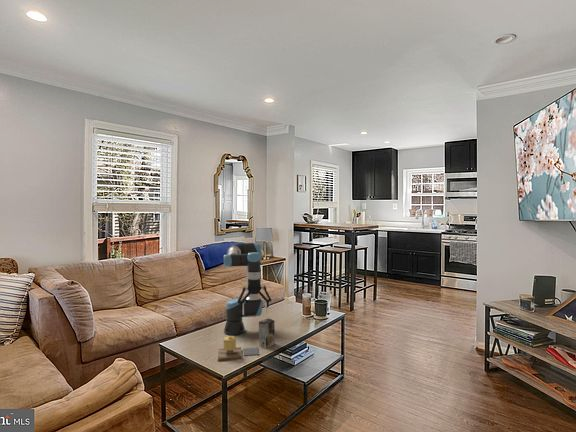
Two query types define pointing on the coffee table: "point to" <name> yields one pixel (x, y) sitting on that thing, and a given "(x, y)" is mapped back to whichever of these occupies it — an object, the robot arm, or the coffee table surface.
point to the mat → (251, 351)
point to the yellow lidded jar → (229, 343)
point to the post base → (229, 354)
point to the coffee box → (266, 333)
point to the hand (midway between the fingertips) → (254, 313)
